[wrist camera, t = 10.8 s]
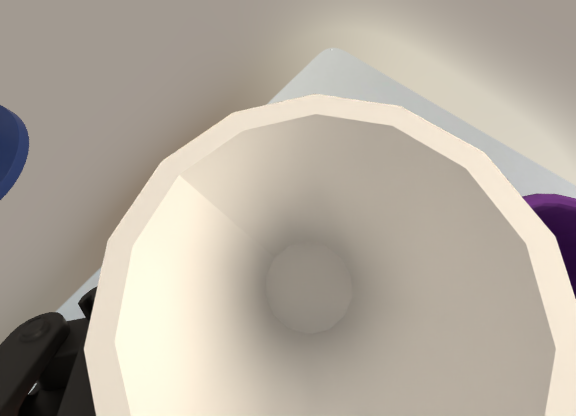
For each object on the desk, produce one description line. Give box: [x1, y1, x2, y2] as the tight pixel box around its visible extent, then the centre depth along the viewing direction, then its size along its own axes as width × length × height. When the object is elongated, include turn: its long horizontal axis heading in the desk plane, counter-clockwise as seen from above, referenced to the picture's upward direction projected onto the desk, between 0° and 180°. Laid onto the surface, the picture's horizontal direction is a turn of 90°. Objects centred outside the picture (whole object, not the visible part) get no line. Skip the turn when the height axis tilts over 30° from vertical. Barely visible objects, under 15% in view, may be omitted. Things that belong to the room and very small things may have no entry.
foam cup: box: [84, 94, 576, 416], centre depth 11 cm, size 10×9×13 cm
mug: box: [522, 194, 576, 299], centre depth 23 cm, size 17×11×10 cm, turn 155°
